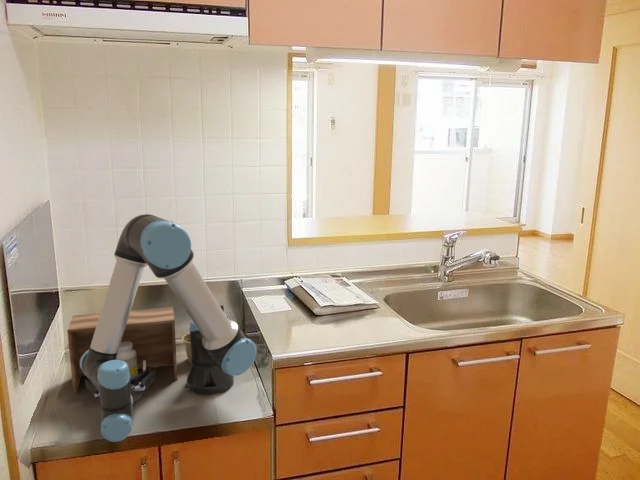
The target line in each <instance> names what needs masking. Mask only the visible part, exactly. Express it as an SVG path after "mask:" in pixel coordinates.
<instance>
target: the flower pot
mask: <svg viewBox="0 0 640 480" xmlns="http://www.w3.org/2000/svg"><path fill="white" fill-rule="evenodd" d="M181 340H182V342H183V344H184V348H185V351H186V352H185V353H186V359H187V361H188V362H190V363H191V342H190V332H189V333H186V334H185V335H182V338H181Z"/></svg>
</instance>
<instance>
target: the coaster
mask: <svg viewBox="0 0 640 480" xmlns="http://www.w3.org/2000/svg"><path fill="white" fill-rule="evenodd" d="M141 397H142V393H141V391H135V392H134V394H133V404H134V403H135V402H138V401H139V400H140V399H141Z"/></svg>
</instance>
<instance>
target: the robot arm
mask: <svg viewBox="0 0 640 480" xmlns="http://www.w3.org/2000/svg"><path fill="white" fill-rule="evenodd" d="M113 256H114V258H115V260H116V261H115V265H114V268H113V271H112V274H111V278H110V280H109V284H108V287H107V291H106V292H105V293H106V294H105V297H104V300H103V303H102V307H101V310H100V312H99V313H100V316H99V319H98V323H97V326H96V329H95V333H94V336H93V339H92V342H91V346H90V349H89V350H88V351H86V352H85V353H84V354H83V355H82V357H81V359H80V367H81V369H82V372H83V373H84V376H85V377H87V378H85V379H84V385H85V388H86V389H87V390H88V391H89V392H90V393H91V394H92V395H93V396H94V399H95V400H99V399H100V401H99V402H100V414H101V423H100V434H101V436H102V437H103V438H104V439H105V440H106V441H108V442H110V443H111V442H112V443H115V442H116V443H117V442H121V441H124V440H126V438H127V437H129V436H130V433H132V428H133V424H134V423H133V409H134V403H133V394H134V392H135V391H140V392H141V394H144V393H145V392H146V389H147V388H148V387H149V386H150V384H152V382H153V381H154V380H155V379H157V373H156V369H152V370H150V367H149V366H147V367H146V360H144V361H143V369H142V372H141V373H138V376H136V377H134V378H130V373H129V368H128V364H127V363H126V362H125V361H120V360H116V357H117V353H118V349H119V346H120V343H121V340H122V337H123V333H124V330H125V327H126V324H127V321H128V317H129V314H130V311H132V308H133V307H132V306H133V304H134V300H135V298H136V296H137V291H138V288H139V286H140V281H141V278H142V276H143V272H144V269H145V268H146V267H147V266H148V267H149V269H150V270H151V272H152V273H153V274H154V276H155V277H156V278H157V279H163V280H164V281H165V282H166V283H167V285H168V286H169V287H170V289H171V290H172V292H173V293H174V295H175V297H176V298H177V300H178V302H180V304H181V305H182V307H183V309H184V310H185V312H186V313H187V315H188V316H189V318H190V319H191V321H190V324H189V333H190V342H191V362H190V363H191V364H190V366H189V371H188V372H189V373H188V374H187V377H186V387H187V389H188V390H189V392H192V393H194V394H197V395H202V396H210V395H216V394H220V393H223V392H225V391H227V390H229V389H230V388H231V387H232V386H233V384H234V381H235V379H234V377H235V376H240V375H242V374H244V373H246V372H247V371H248V370H249V369H250V368H251V367H252V366H253V364H254V362H255V360H256V356H257V353H258V351H257V350H258V349H257V346H256V344H255V343H254V341H253V340H251V338H248V337H247V336H245V334H244V332H243V331H242V329H241V328H240V326H239V325H238V323H237V322H236V321H235V320H232V319H229V318H228V317H227V315H226V313H225V312H224V310H223V308H222V307H221V305H220V304H219V302H218V300H217V299H216V297H215V296H214V294H213V293H212V291H211V289H210V288H209V286H208V284H207V282H205V279H204V278H203V277H202V274H201V273H200V272H199V270H198V269H197V267H196V266H195V264H194V263H193V260H194V258H195V253H194V251H193V250H192V242H191V239H190V235H189V233H188V232H187V231H186V230H185V229H184V228H183V227H182V226H181V225H179V224H178V223H176V222H174V221H172V220H168V219H164V218H162V217H159V216H156V215H153V214H148V213H147V214H145V213H144V214H139V215H137V216H135V217H132V219H130V220H128V222H127V223H126V224H125V226H124V228H123V229H122V231H121V234H120V237H119V238H118V242H117V245H116V248H115V251H114V254H113Z"/></svg>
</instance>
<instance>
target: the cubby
mask: <svg viewBox="0 0 640 480" xmlns="http://www.w3.org/2000/svg"><path fill="white" fill-rule="evenodd" d="M100 313H101V312H99V313H88V314H77V315H73V316H72V317H71V320H70V322H69V325H68V326H67V327H68V328H67V341H68V350H69V351H68V352H69V360H70V371H71V379H72V380H71V381H72V391H73V392H72V393H73V394H76V393H77V391H78V389H79V384H80V381H81V378H82V376H85V375H84V373H83V372H82V369H81V367H80V359H81V357H82V355H83V354H84V353H85V352H86V351H88V350H89V349H90V346H91V342H92V339H93V336H94V333H95V329H96V326H97V323H98V319H99V316H100ZM175 324H176V322H175V313H174V307H173V306H169V307H158V308H156V307H155V308H147V309H134V310H131V311H130V314H129V317H128V321H127V324H126V327H125V330H124V333H123V337H122V340H121V342H125V341H130V342H132V344H133V348H132V349H134V350H135V351H136V355H137V369H138V370H143V361H144V360H146V367H147V366H149V367H150V368H158V367H159V368H160V367H166V366H173V374H174V375H173V376H174V381H178V367H177V366H178V364H177V362H178V361H177V345H176V325H175Z"/></svg>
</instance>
